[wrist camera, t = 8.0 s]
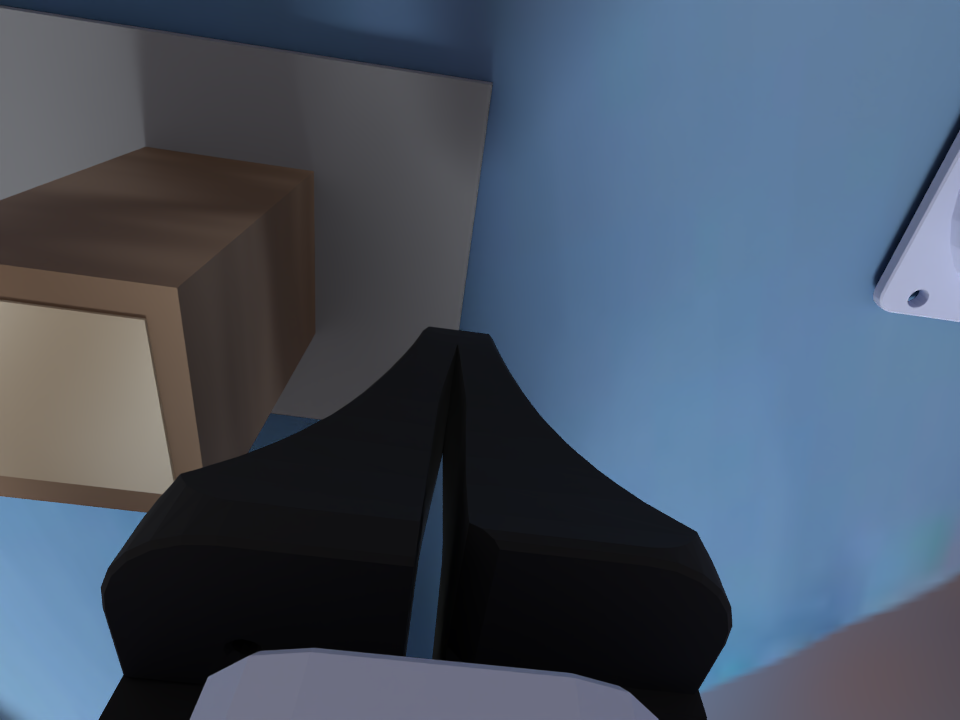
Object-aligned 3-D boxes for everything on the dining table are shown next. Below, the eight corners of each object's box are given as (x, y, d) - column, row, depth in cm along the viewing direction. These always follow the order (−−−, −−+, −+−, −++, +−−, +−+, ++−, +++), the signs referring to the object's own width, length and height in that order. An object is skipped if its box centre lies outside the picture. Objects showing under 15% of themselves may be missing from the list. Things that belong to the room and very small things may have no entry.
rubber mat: (492, 82, 13) (492, 84, 13) (445, 423, 18) (444, 434, 18) (-43, -2, 13) (-66, -3, 12) (62, 375, 18) (49, 385, 17)
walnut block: (313, 171, 14) (174, 289, 8) (315, 333, 16) (209, 521, 10) (145, 146, 14) (-132, 248, 8) (171, 314, 16) (-26, 495, 10)
